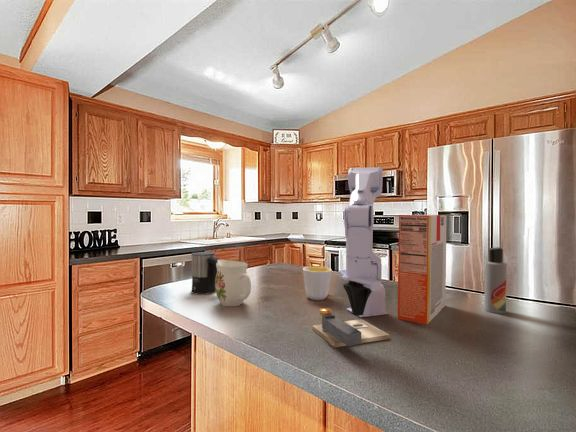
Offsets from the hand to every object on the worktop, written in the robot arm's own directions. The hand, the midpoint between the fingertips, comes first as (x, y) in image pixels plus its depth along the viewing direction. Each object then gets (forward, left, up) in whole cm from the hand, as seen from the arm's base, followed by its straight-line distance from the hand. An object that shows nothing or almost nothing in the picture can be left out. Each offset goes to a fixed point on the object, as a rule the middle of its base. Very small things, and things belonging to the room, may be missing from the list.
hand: (357, 314), depth 76 cm
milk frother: (+25, -63, -7) cm, 68 cm away
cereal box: (-33, -14, -7) cm, 36 cm away
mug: (-10, -40, -7) cm, 42 cm away
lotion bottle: (-55, -7, -7) cm, 56 cm away
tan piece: (-1, -6, -7) cm, 9 cm away
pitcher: (+21, -41, -7) cm, 47 cm away
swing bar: (+5, -2, -4) cm, 6 cm away
